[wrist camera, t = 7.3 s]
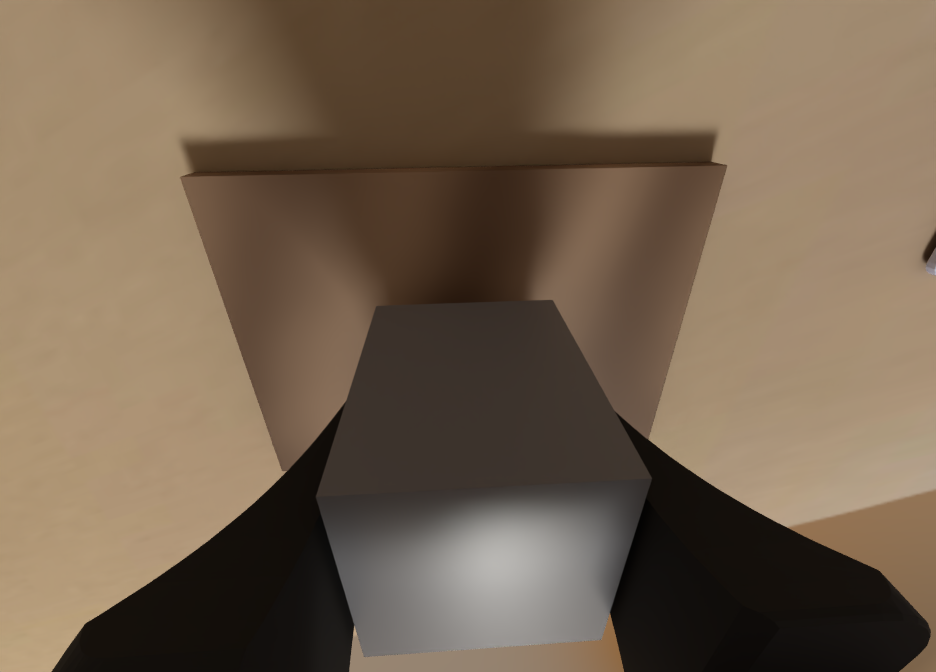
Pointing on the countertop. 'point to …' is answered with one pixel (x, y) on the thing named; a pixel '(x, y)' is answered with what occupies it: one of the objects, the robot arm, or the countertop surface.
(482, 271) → the flat brown plate
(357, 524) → the gray rectangular prism
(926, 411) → the countertop surface
